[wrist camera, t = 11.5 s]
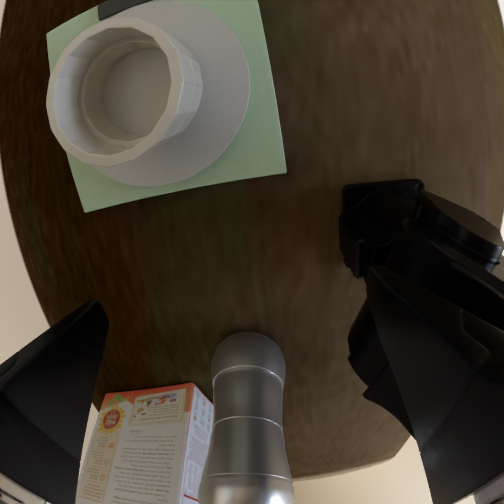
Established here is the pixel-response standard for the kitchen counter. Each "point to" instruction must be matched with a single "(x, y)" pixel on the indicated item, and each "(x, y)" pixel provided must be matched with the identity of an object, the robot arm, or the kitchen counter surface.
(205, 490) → the silver metal bottle
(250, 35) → the scale
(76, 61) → the bowl
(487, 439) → the robot arm
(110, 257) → the kitchen counter surface
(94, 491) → the cracker box
